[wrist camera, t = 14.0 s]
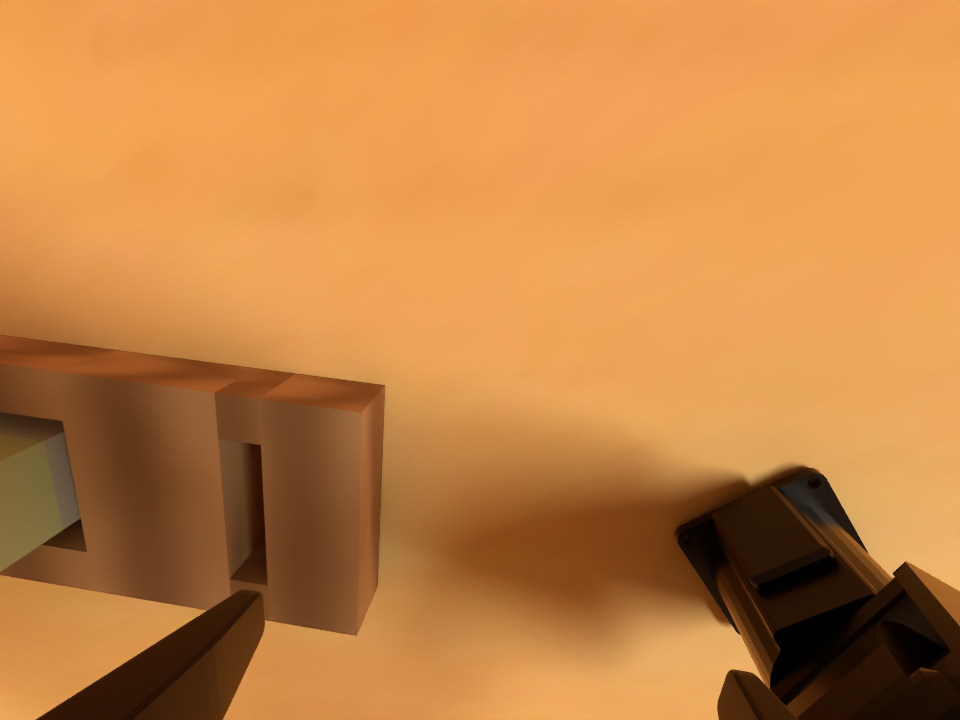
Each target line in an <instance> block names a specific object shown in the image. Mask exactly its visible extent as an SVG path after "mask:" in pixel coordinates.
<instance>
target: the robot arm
mask: <svg viewBox="0 0 960 720" xmlns="http://www.w3.org/2000/svg"><path fill="white" fill-rule="evenodd" d="M813 478H815V480H814V482H812V483H810V484H807V483H808V481H809V480H811V479H813ZM687 535H692V537H690V538H689V539H684V537H685V536H687ZM675 537H676V539H677V542H678V544H679V546H680V547H681V549H682V550H683V552H684V553H685V555H686V556H687V558H688V559H689V561H690V562H691V564H692V565H693V567H694V568H695V570H696V571H697V573H698V574H699V576H700V578H701V579H702V581H703V582H704V584H705V585H706V587H707V588H708V590H709V591H710V593H711V594H712V596H713V597H714V599H715V600H716V602H717V603H718V605H719V606H720V608H721V609H722V611H723V612H724V614H725V615H726V617H727V618H728V620H729V621H730V623H731V624H732V626H733V627H734V629H735V630H736V632H737V633H738V634H740V635H741V637H742V639H743V641H744V643H745V645H746V647H747V649H748V651H749V653H750V655H751V657H752V659H753V661H754V663H755V665H756V667H757V669H758V671H759V673H760V675H761V677H762V679H763V681H764V683H765V684H764V683H763V682H762V681H761V680H760V679H759V678H758V677H757V676H756V675H754V674H753V673H750V672H745V671H739V670H730V671H729V672H728V673H727V675H726V678H725V681H724V684H723V687H722V690H721V693H720V696H719V699H718V705H717V710H718V717H719V720H960V591H958V590H956V589H954V588H953V587H951V586H949V585H947V584H945V583H944V582H942V581H940V580H938V579H937V578H935V577H933V576H931V575H930V574H928V573H926V572H924V571H923V570H921V569H919V568H917V567H916V566H914V565H912V564H910V563H909V562H904V563H903V564H902V565H901V566H900V567H899V568H898V569H897V570H896V571H895V572H893V575H894V576H895V577H894V578H892V577H891V576H890V575H889V574H888V573H887V572H886V571H885V570H884V569H883V568H882V567H881V566H880V565H879V564H878V563H877V562H876V561H875V560H874V559H873V558H872V557H871V556H870V555H869V554H868V552H867V550H866V548H865V546H864V545H863V543H862V541H861V539H860V537H859V536H858V534H857V532H856V530H855V529H854V527H853V525H852V523H851V521H850V520H849V518H848V516H847V514H846V513H845V511H844V509H843V507H842V505H841V504H840V502H839V500H838V498H837V497H836V495H835V493H834V491H833V489H832V488H831V486H830V484H829V482H828V481H827V479H826V477H825V476H824V475H823V474H821V473H820V472H819V471H818V470H816V469H814V468H807V469H803V470H801V471H799V472H797V473H795V474H792V475H790V476H788V477H786V478H784V479H782V480H779V481H777V482H775V483H773V484H771V485H769V486H766V487H764V488H762V489H760V490H758V491H756V492H753V493H751V494H749V495H747V496H745V497H743V498H740V499H738V500H736V501H734V502H732V503H730V504H727V505H725V506H723V507H721V508H719V509H717V510H714V511H712V512H710V513H708V514H706V515H703V516H701V517H699V518H697V519H695V520H693V521H690V522H688V523H686V524H684V525H682V526H680V527H679V528H677V530H676V531H675ZM264 627H265V616H264V599H263V595H262V593H261V592H258V591H252V590H246V589H243V590H239V591H237V592H236V593H234V594H233V595H231V596H229V597H228V598H226V599H225V600H223V601H222V602H220V603H218V604H217V605H215V606H214V607H212V608H211V609H209V610H207V611H206V612H204V613H203V614H201V615H200V616H198V617H196V618H195V619H193V620H192V621H190V622H189V623H187V624H185V625H184V626H182V627H181V628H179V629H178V630H176V631H174V632H173V633H171V634H170V635H168V636H167V637H165V638H163V639H162V640H160V641H159V642H157V643H156V644H154V645H152V646H151V647H149V648H148V649H146V650H145V651H143V652H141V653H140V654H138V655H137V656H135V657H134V658H132V659H130V660H129V661H127V662H126V663H124V664H123V665H121V666H119V667H118V668H116V669H115V670H113V671H112V672H110V673H108V674H107V675H105V676H104V677H102V678H101V679H99V680H97V681H96V682H94V683H93V684H91V685H89V686H88V687H86V688H85V689H83V690H82V691H80V692H78V693H77V694H75V695H74V696H72V697H71V698H69V699H67V700H66V701H64V702H63V703H61V704H60V705H58V706H56V707H55V708H53V709H52V710H50V711H49V712H47V713H45V714H44V715H42V716H41V717H39V718H38V719H36V720H223V718H224V716H225V714H226V712H227V710H228V708H229V706H230V704H231V702H232V699H233V697H234V695H235V693H236V691H237V689H238V687H239V684H240V682H241V680H242V678H243V676H244V674H245V672H246V669H247V667H248V665H249V663H250V661H251V659H252V657H253V655H254V652H255V650H256V648H257V646H258V644H259V642H260V640H261V637H262V635H263V632H264Z"/></svg>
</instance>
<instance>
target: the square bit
mask: <svg viewBox="0 0 960 720" xmlns="http://www.w3.org/2000/svg"><path fill="white" fill-rule="evenodd" d="M80 518H81V517H80V511H79V506H78V501H77V495H76V490H75V485H74V479H73V474H72V469H71V464H70V458H69V453H68V448H67V442H66V437H65V432H64V427H63V421H60V420H53V419H46V418H39V417H32V416H25V415H18V414H11V413H4V412H0V572H1V571H3V570H4V569H6V568H7V567H9V566H10V565H12V564H13V563H15V562H16V561H18V560H19V559H21V558H22V557H24V556H25V555H26V554H28V553H29V552H31V551H32V550H34V549H35V548H37V547H38V546H40V545H41V544H43V543H44V542H46V541H47V540H49V539H50V538H52V537H53V536H55V535H56V534H58V533H59V532H61V531H62V530H64V529H65V528H67V527H68V526H70V525H71V524H73V523H74V522H76V521H77V520H79V519H80Z"/></svg>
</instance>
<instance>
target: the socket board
mask: <svg viewBox="0 0 960 720" xmlns="http://www.w3.org/2000/svg"><path fill="white" fill-rule="evenodd" d="M384 402H385V385H377V384H370V383H362V382H354V381H347V380H339V379H332V378H324V377H316V376H309V375H301V374H293V373H286V372H278V371H270V370H263V369H255V368H247V367H240V366H232V365H224V364H217V363H209V362H201V361H194V360H186V359H179V358H171V357H163V356H156V355H148V354H140V353H133V352H125V351H117V350H110V349H102V348H94V347H87V346H79V345H71V344H64V343H56V342H48V341H41V340H33V339H26V338H18V337H10V336H3V335H0V412H4V413H11V414H18V415H25V416H32V417H39V418H46V419H53V420H60V421H63V427H64V432H65V437H66V442H67V448H68V453H69V458H70V464H71V469H72V474H73V479H74V485H75V490H76V495H77V501H78V506H79V511H80V517H81V518H80V519H79V520H77V521H76V522H74V523H73V524H71V525H70V526H68V527H67V528H65V529H64V530H62V531H61V532H59V533H58V534H56V535H55V536H53V537H52V538H50V539H49V540H47V541H46V542H44V543H43V544H41V545H40V546H38V547H37V548H35V549H34V550H32V551H31V552H29V553H28V554H26V555H25V556H24V557H22V558H21V559H19V560H18V561H16V562H15V563H13V564H12V565H10V566H9V567H7V568H6V569H4V570H3V571H1V572H0V575H4V576H10V577H16V578H21V579H27V580H33V581H39V582H45V583H51V584H57V585H62V586H68V587H74V588H80V589H86V590H92V591H98V592H103V593H109V594H115V595H121V596H127V597H133V598H138V599H144V600H150V601H156V602H162V603H168V604H174V605H179V606H185V607H191V608H197V609H203V610H209V609H211V608H212V607H214V606H215V605H217V604H218V603H220V602H222V601H223V600H225V599H226V598H228V597H229V596H231V595H233V594H234V593H236V592H237V591H239V590H243V589H246V590H252V591H258V592H261V593H262V595H263V599H264V616H265V620H267V621H273V622H279V623H285V624H291V625H296V626H302V627H308V628H314V629H320V630H326V631H332V632H337V633H343V634H349V635H355V636H357V634H358V632H359V629H360V627H361V624H362V622H363V620H364V617H365V615H366V612H367V610H368V608H369V605H370V603H371V600H372V598H373V596H374V593H375V591H376V589H377V586H378V560H379V534H380V508H381V481H382V455H383V428H384Z"/></svg>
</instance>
